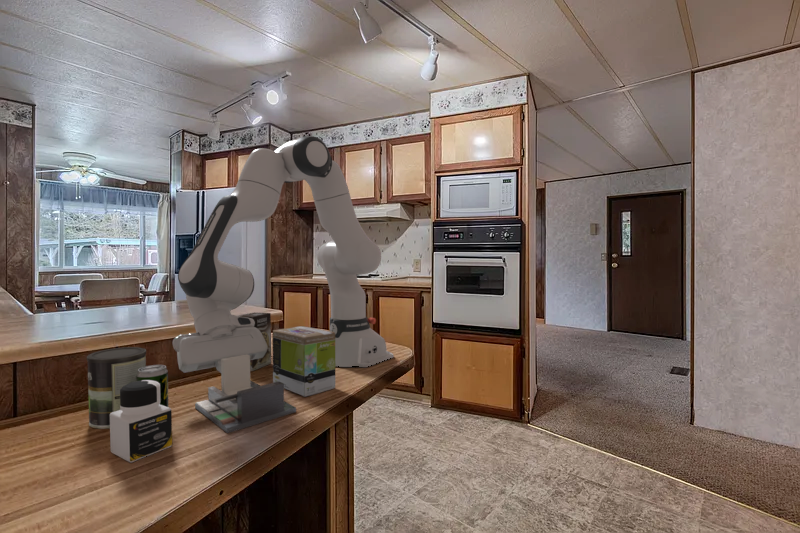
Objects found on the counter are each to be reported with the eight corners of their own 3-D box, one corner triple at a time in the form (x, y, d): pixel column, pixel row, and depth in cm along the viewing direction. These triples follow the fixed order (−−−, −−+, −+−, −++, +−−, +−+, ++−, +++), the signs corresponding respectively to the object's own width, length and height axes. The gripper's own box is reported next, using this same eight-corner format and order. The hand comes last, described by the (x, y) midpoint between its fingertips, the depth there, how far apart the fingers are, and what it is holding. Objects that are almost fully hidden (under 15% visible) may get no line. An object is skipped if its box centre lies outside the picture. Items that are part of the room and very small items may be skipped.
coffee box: (253, 371, 121) (252, 316, 120) (235, 369, 123) (234, 315, 122) (272, 363, 130) (271, 312, 129) (255, 361, 132) (254, 311, 131)
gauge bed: (258, 392, 103) (258, 364, 103) (296, 411, 90) (295, 380, 90) (195, 408, 93) (194, 377, 93) (227, 433, 80) (226, 397, 80)
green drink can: (137, 435, 79) (136, 373, 78) (137, 425, 83) (135, 367, 83) (170, 429, 82) (168, 369, 81) (167, 419, 86) (166, 363, 86)
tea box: (337, 388, 106) (336, 331, 106) (304, 398, 99) (303, 337, 98) (303, 376, 117) (303, 324, 116) (271, 384, 109) (270, 329, 109)
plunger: (247, 394, 98) (246, 354, 97) (265, 405, 91) (264, 361, 91) (202, 406, 90) (201, 362, 90) (218, 418, 84) (217, 371, 84)
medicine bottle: (130, 463, 68) (128, 392, 68) (109, 452, 72) (108, 385, 72) (173, 446, 75) (171, 381, 74) (152, 437, 78) (150, 374, 78)
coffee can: (81, 432, 80) (79, 361, 80) (96, 413, 90) (94, 349, 89) (143, 424, 84) (141, 355, 84) (151, 406, 94) (149, 345, 93)
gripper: (173, 328, 93) (188, 380, 87) (259, 317, 108) (277, 362, 101) (167, 344, 97) (182, 396, 90) (252, 332, 111) (269, 376, 104)
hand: (233, 378), depth 96 cm, fingers closed, pressing on plunger
